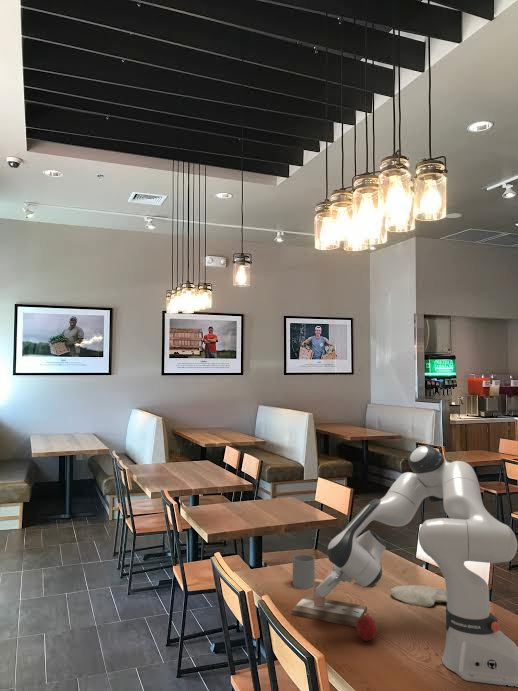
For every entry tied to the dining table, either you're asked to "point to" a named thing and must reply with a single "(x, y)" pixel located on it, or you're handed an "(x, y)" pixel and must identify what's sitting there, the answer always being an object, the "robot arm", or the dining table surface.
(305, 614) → the board with dashed strip
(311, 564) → the cup
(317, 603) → the stub
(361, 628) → the onion
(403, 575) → the dining table surface
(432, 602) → the fragment
